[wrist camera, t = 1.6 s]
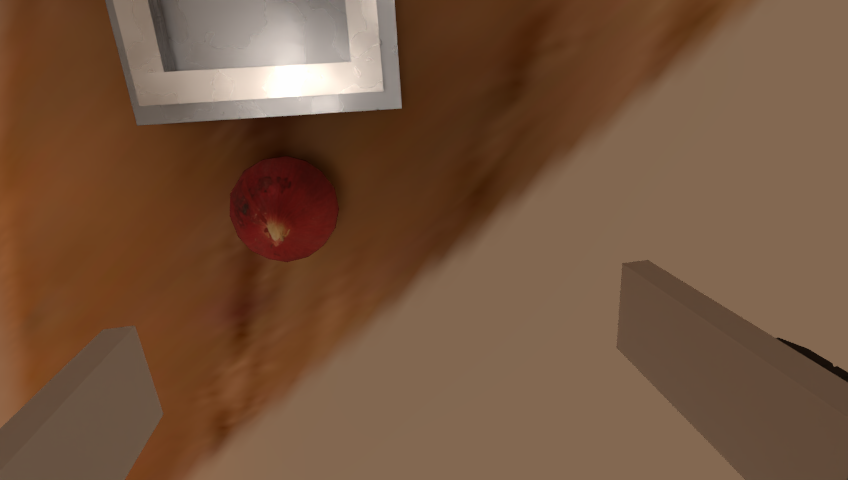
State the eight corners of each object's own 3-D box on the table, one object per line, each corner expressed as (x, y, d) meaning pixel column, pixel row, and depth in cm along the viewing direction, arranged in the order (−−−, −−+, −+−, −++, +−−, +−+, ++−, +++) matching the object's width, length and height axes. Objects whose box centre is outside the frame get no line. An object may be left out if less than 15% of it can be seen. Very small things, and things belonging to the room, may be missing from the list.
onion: (230, 206, 29) (185, 250, 22) (275, 129, 28) (244, 147, 21) (311, 251, 31) (295, 307, 24) (357, 180, 30) (356, 215, 22)
